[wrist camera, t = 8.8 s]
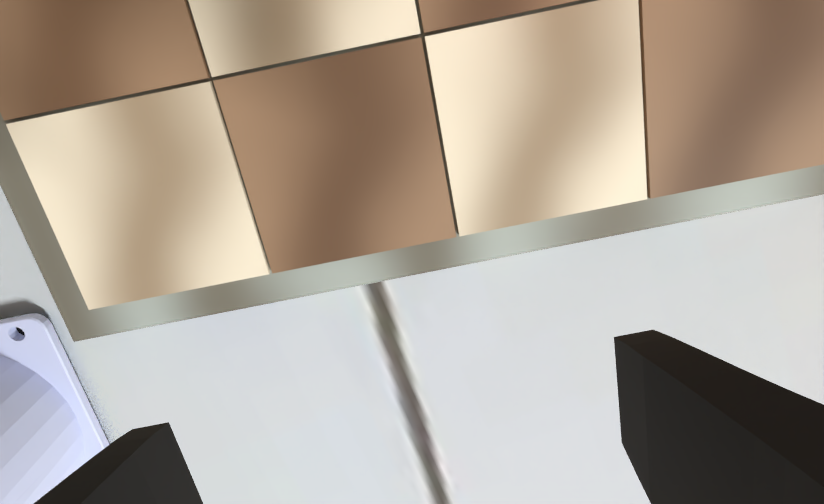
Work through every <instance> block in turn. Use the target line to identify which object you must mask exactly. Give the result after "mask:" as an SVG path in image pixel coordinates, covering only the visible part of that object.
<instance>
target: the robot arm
mask: <svg viewBox="0 0 824 504" xmlns="http://www.w3.org/2000/svg"><path fill="white" fill-rule="evenodd" d="M16 327H18V328H20V329H22V330H23V332H24V333H25V335H22V334H20V333H19V332H18V331H17V329H16ZM614 343H615V356H616V370H617V383H618V397H619V410H620V423H621V437H622V444H623V446H624V448H625V450H626V452H627V455H628V457H629V459H630V461H631V463H632V465H633V467H634V470H635V472H636V474H637V476H638V478H639V480H640V482H641V484H642V486H643V488H644V490H645V492H646V494H647V496H648V498H649V500H650V502H651V504H824V405H823V404H821V403H818V402H816V401H813V400H811V399H809V398H806V397H804V396H801V395H799V394H797V393H794V392H792V391H790V390H788V389H785V388H783V387H781V386H778V385H776V384H774V383H772V382H769V381H767V380H765V379H763V378H760V377H758V376H756V375H754V374H751V373H749V372H747V371H745V370H743V369H740V368H738V367H736V366H734V365H732V364H729V363H727V362H725V361H723V360H721V359H719V358H716V357H714V356H712V355H710V354H708V353H706V352H703V351H701V350H699V349H697V348H695V347H692V346H690V345H688V344H686V343H684V342H681V341H679V340H677V339H675V338H672V337H670V336H668V335H665V334H663V333H660V332H658V331H655V330H649V331H644V332H639V333H633V334H628V335H623V336H618V337H614ZM0 504H203V502H202V500H201V497H200V495H199V493H198V490H197V488H196V486H195V483H194V481H193V479H192V476H191V474H190V471H189V469H188V467H187V464H186V462H185V460H184V457H183V455H182V453H181V450H180V448H179V446H178V443H177V441H176V438H175V436H174V434H173V431H172V429H171V427H170V424H169V423H163V424H158V425H153V426H148V427H142V428H137V429H132V430H131V431H129V432H127V433H126V434H124V435H123V436H121V437H120V438H118V439H117V440H115V441H114V442H113V443H111V444H110V445H109V442H108V440H107V438H106V436H105V434H104V432H103V430H102V428H101V426H100V424H99V422H98V419H97V417H96V415H95V413H94V411H93V409H92V407H91V405H90V403H89V401H88V399H87V396H86V394H85V392H84V390H83V388H82V386H81V384H80V382H79V380H78V378H77V376H76V373H75V371H74V369H73V367H72V365H71V363H70V361H69V359H68V357H67V355H66V353H65V350H64V348H63V346H62V344H61V342H60V340H59V338H58V336H57V334H56V332H55V330H54V327H53V325H52V323H51V322H50V321H49V319H48V318H46V317H45V316H43V315H41V314H38V313H31V314H26V315H21V316H16V317H11V318H6V319H1V320H0Z"/></svg>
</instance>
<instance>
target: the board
mask: <svg viewBox="0 0 824 504" xmlns="http://www.w3.org/2000/svg"><path fill="white" fill-rule="evenodd" d="M0 185H1V187H2V189H3V192H4V194H5V196H6V198H7V200H8V202H9V204H10V207H11V209H12V211H13V213H14V215H15V217H16V219H17V222H18V224H19V226H20V228H21V230H22V232H23V234H24V236H25V239H26V241H27V243H28V245H29V247H30V249H31V251H32V254H33V256H34V258H35V260H36V262H37V264H38V266H39V268H40V271H41V273H42V275H43V277H44V279H45V281H46V283H47V286H48V288H49V290H50V292H51V294H52V296H53V298H54V300H55V303H56V305H57V307H58V309H59V311H60V313H61V315H62V318H63V320H64V322H65V324H66V326H67V328H68V330H69V333H70V335H71V337H72V339H73V341H74V342H75V341H80V340H85V339H90V338H95V337H100V336H105V335H110V334H116V333H121V332H126V331H131V330H136V329H141V328H146V327H151V326H156V325H161V324H166V323H172V322H177V321H182V320H187V319H192V318H197V317H202V316H207V315H212V314H217V313H222V312H227V311H233V310H238V309H243V308H248V307H253V306H258V305H263V304H268V303H273V302H278V301H283V300H288V299H294V298H299V297H304V296H309V295H314V294H319V293H324V292H329V291H334V290H339V289H344V288H349V287H355V286H360V285H365V284H370V283H375V282H380V281H385V280H390V279H395V278H400V277H405V276H410V275H416V274H421V273H426V272H431V271H436V270H441V269H446V268H451V267H456V266H461V265H466V264H471V263H477V262H482V261H487V260H492V259H497V258H502V257H507V256H512V255H517V254H522V253H527V252H532V251H538V250H543V249H548V248H553V247H558V246H563V245H568V244H573V243H578V242H583V241H588V240H593V239H599V238H604V237H609V236H614V235H619V234H624V233H629V232H634V231H639V230H644V229H649V228H654V227H660V226H665V225H670V224H675V223H680V222H685V221H690V220H695V219H700V218H705V217H710V216H715V215H721V214H726V213H731V212H736V211H741V210H746V209H751V208H756V207H761V206H766V205H771V204H776V203H782V202H787V201H792V200H797V199H802V198H807V197H812V196H817V195H822V194H824V0H0Z"/></svg>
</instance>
